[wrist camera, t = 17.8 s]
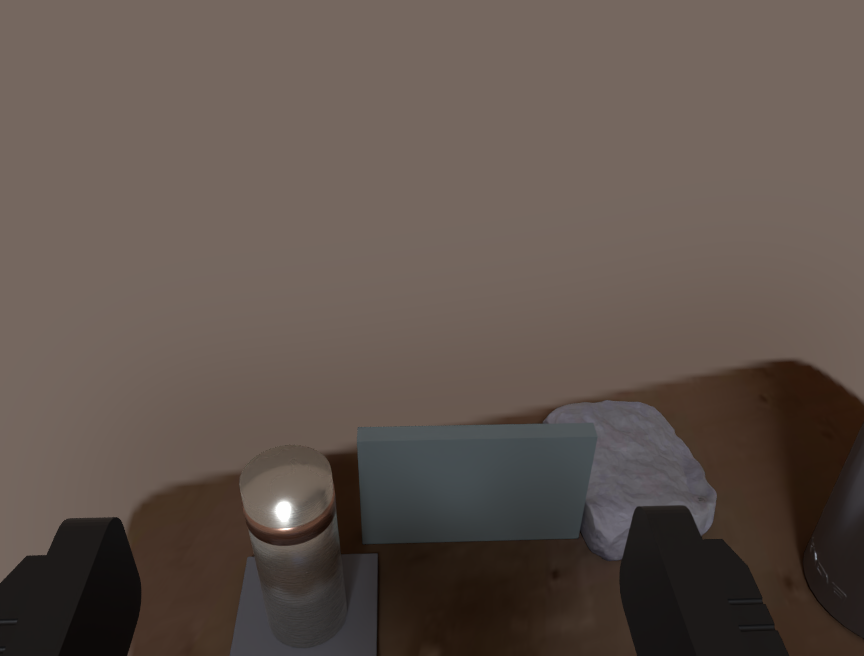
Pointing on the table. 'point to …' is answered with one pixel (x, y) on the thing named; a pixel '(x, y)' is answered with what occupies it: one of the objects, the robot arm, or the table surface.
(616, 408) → the stone block
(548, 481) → the slate screen
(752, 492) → the table surface
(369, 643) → the dark rubber mat
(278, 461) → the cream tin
